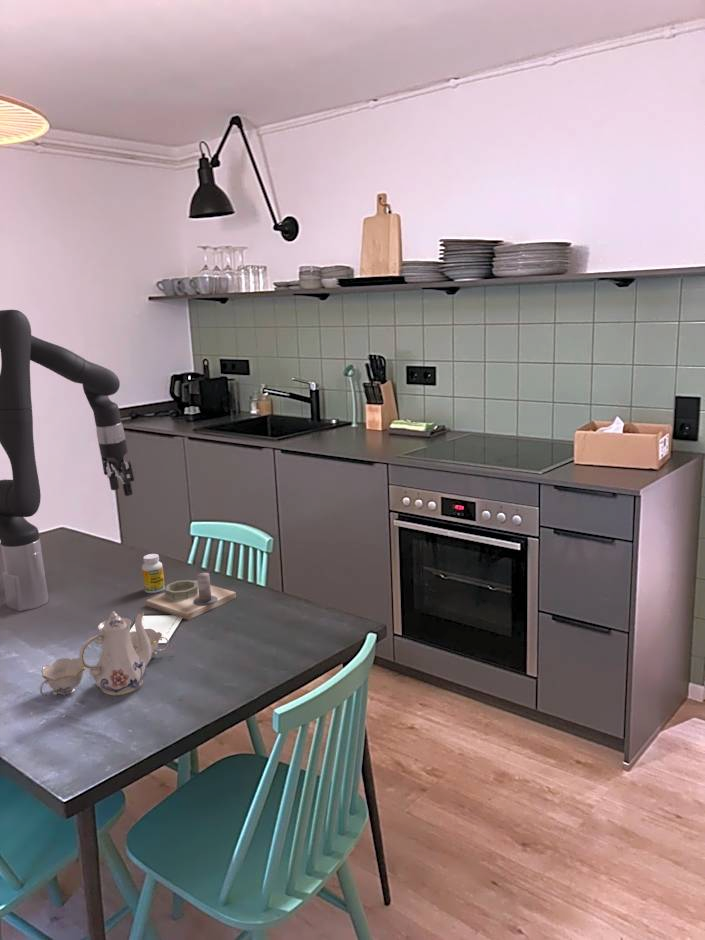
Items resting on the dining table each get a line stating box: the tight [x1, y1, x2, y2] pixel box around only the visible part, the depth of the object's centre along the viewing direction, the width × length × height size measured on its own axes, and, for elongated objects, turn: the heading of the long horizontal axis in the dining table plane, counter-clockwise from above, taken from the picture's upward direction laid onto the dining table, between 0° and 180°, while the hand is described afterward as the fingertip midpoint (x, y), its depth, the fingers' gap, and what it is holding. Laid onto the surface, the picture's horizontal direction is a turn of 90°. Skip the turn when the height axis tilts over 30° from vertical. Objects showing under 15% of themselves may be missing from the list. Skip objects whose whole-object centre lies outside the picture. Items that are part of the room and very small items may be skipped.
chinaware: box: [39, 611, 170, 697], centre depth 157 cm, size 28×17×17 cm, turn 141°
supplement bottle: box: [141, 553, 166, 594], centre depth 204 cm, size 5×5×10 cm
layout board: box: [146, 572, 237, 621], centre depth 195 cm, size 16×16×8 cm
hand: (121, 492), depth 223 cm, fingers open, 8 cm apart
